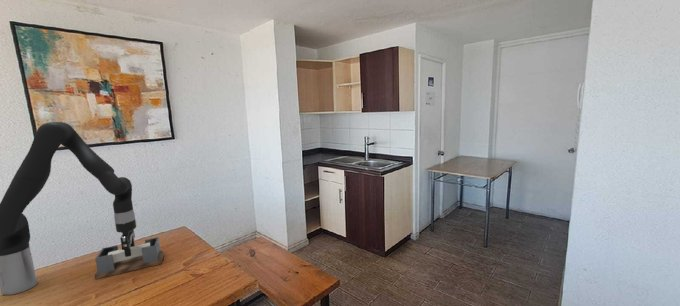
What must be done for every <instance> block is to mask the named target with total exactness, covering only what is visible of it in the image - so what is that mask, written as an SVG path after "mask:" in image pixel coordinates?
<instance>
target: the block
mask: <svg viewBox="0 0 680 306" xmlns="http://www.w3.org/2000/svg"><path fill="white" fill-rule="evenodd" d="M145 247H150V242H149V243H145V242H144V243H142V244H138V245H135V246H133V247H130V249H131V256H128V257H125V252H124V250H122V248H121V249H118V250H116V251H112V252H108V255H111V254H112V255H113V261H114V263H115V262H119V261H123V260H126V259H130V258H134V257H138V256H142V248H145Z"/></svg>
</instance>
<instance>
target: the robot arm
mask: <svg viewBox="0 0 680 306" xmlns="http://www.w3.org/2000/svg"><path fill="white" fill-rule="evenodd" d="M61 145H62V146H63V147H65V148H66V149H67V150H69V151H70V152H71V153H72V154H73V155H74V156H75V157H76V159H77V160H78V161H79V162H80V164H81V166H82V167H83V168H84V169H85V170H86V171H87V172H88V173H90V174H91V175H92V176H93V177H95V179H97V180H98V181H99V183H100V184H101V185H102V187H103V188H104V189H105V190H106V191H107V192H108V193H110V195H113V196H114V200H113V202H112V207H113V216H114V218H113V219H114V224H115V231H116V232H117V233H121V234H122V235H121V237H120V243H121V249H122V250H124V252H125V257H128V256H131V249H130V247H133V246H136V245H135V237H136V236H135V231H134V230H135V229H136V228H137V221H136V215H135V211H134V206H133V201H132V199H133V198H132V196H133V187H132V186H133V185H132V181H131V180H130V179H129V178H127V177H123V176H121V177H118V175H117V174H115V169H114V168H113V167H112V166H111V165H110V164H109V163H107V162H106V161H105V160H104V159H103V158H102V157H100V156H99V155H98V154H97V153H96V152H95V151H94V150H93V149H92V148H91V147H90V146H89V144H87V142H86V141H84V139H82V138H81V136H80V134H78V132H77V131H76V130H75V129H74V128H73V127H72V126H71V125H70V124H69V123H67V122H63V121H49V122H46V123H45V122H44V123H43V124H41V125H40V126H39V127H38V128H37V130H36V132H35V135H34V138H33V140H32V143H31V145H30V148H29V149H28V152H27V154H26V155H25V157H24V158H23V160H22V162H21V164H20V166H18V169H17V170H16V172H15V174H14V176H13V178H12V179H11V182H10V184H9V186H8V188H7V189H6V191H5V193H4V195H3V197H2V199H1V201H0V293H1V296H5V295H6V296H11V295H12V296H13V295H15V294H19V293H23V292H26V291H28V290H31V289H32V288H33V287H35V286H36V285H37V284H38V278H37V274H36V270H35V265H34V260H33V256H32V255H33V254H32V252H31V246H30V241H31V231H30V225H29V220H28V218H27V217H26V215H25V214H24V211H25V209H26V208H27V206H28V205H29V204H30V203H31V202H32V201H33V200H35V198H36V197H37V196H38V195H39V193H40V192H41V191H42V190H43V188H44V186H45V185H46V183H47V181H48V180H49V177H50V175H51V171H52V170H51V169H52V160H53V157H54V155H55V153H56V152H57V150H58V149H59V147H60V146H61Z"/></svg>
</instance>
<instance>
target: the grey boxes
mask: <svg viewBox="0 0 680 306" xmlns="http://www.w3.org/2000/svg"><path fill="white" fill-rule="evenodd" d="M149 242H150V247H145V248H142V255H143V262H144V263H149V262H153V261H157V260H158V259H159V255H160V252H161V250H162V249H161V244H160V243H161V242H160V237H158V236H157V237H153V238H148V239H145V240H144V244H145V243H149ZM116 250H119V246H118V245H111V246H107V247H102V249H100V251H99V252H98V254H97V255H96V257H95V263H96V270H97V271H98V274H101V273H105V272H109V271H114V270H115V268H116V266H117V265H118V263H119V262H115V263H114V261H113V255H112V254H111V255H108V252H112V251H116ZM97 271H96V272H97Z"/></svg>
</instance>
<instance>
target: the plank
mask: <svg viewBox="0 0 680 306" xmlns="http://www.w3.org/2000/svg"><path fill="white" fill-rule="evenodd" d="M164 255H165V251H164V249H161V252H160V255H159V259H158V260H157V261H153V262H149V263H144V262H143V255H142V256H138V257H134V258H130V259H126V260H123V261H119V263H118V265H117V266H116V268H115V270H114V271H109V272H105V273H101V274H98V271H96V272H95V274H94V279H95V280H98V279H101V278H107V277H110V276H111V277H112V276H115V275H118V274H123V273H124V274H125V273H127V272H132V271H136V270H140V269H145V268H149V267H152V266H153V267H154V266H156V265H161V264H162V263H163V260H164Z"/></svg>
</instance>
